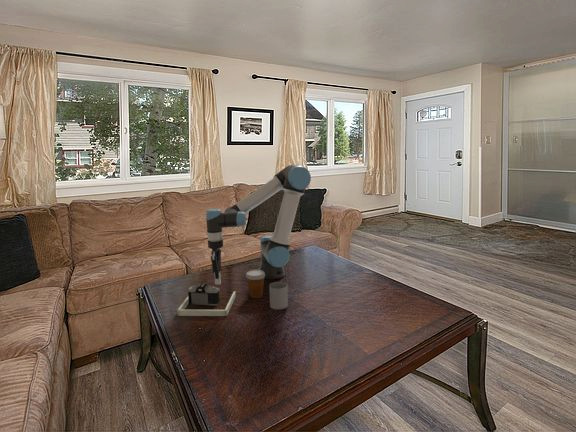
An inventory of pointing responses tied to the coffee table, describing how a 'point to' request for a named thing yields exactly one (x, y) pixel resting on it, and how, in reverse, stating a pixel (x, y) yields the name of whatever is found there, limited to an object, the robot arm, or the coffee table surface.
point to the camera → (203, 295)
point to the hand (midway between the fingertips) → (218, 283)
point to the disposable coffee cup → (255, 283)
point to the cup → (278, 295)
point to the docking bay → (190, 312)
